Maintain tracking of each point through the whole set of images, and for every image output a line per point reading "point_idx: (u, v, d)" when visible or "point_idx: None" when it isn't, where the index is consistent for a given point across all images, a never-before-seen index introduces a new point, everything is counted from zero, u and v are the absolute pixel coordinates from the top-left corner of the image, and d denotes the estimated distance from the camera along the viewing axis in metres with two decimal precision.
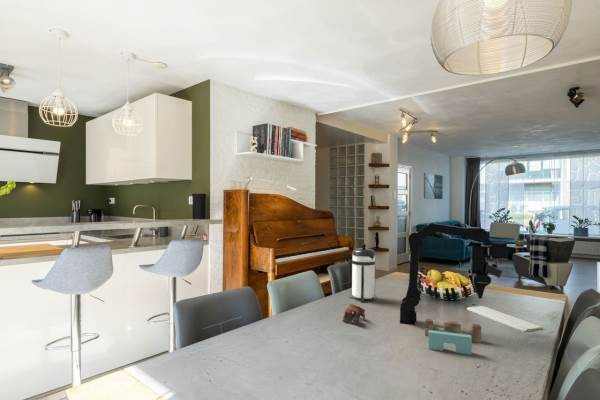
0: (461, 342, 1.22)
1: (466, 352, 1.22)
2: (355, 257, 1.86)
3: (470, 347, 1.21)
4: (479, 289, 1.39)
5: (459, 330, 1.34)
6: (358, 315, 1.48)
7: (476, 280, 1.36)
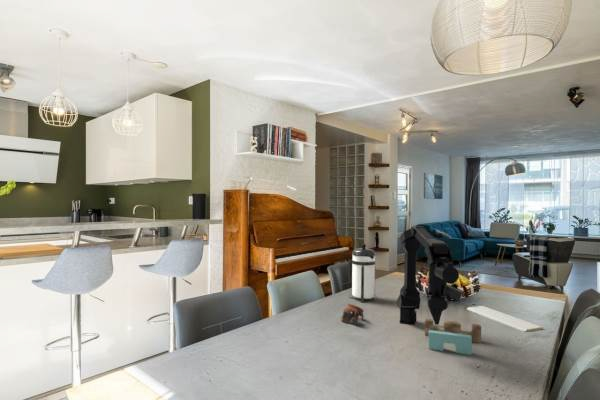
0: (461, 342, 1.22)
1: (466, 352, 1.22)
2: (355, 257, 1.86)
3: (470, 347, 1.21)
4: (435, 314, 1.21)
5: (459, 330, 1.34)
6: (357, 315, 1.48)
7: (431, 304, 1.18)
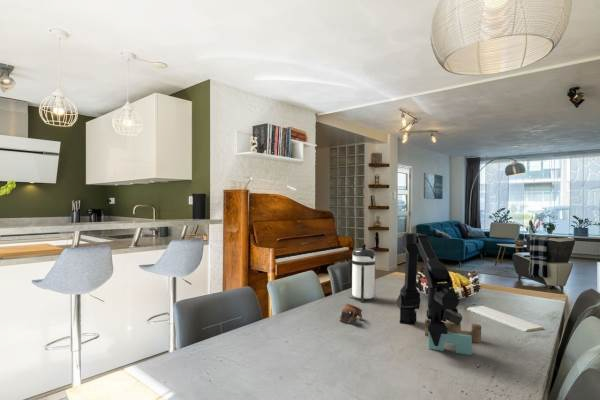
0: (461, 342, 1.22)
1: (466, 352, 1.21)
2: (355, 257, 1.86)
3: (470, 347, 1.21)
4: (434, 336, 1.24)
5: (459, 330, 1.34)
6: (355, 315, 1.48)
7: (430, 330, 1.18)
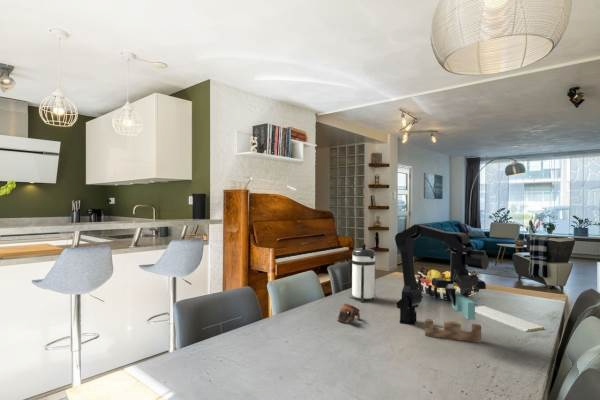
0: (463, 305, 1.27)
1: (465, 316, 1.25)
2: (355, 257, 1.86)
3: (467, 311, 1.24)
4: (450, 295, 1.36)
5: (459, 330, 1.34)
6: (353, 315, 1.48)
7: (432, 283, 1.38)
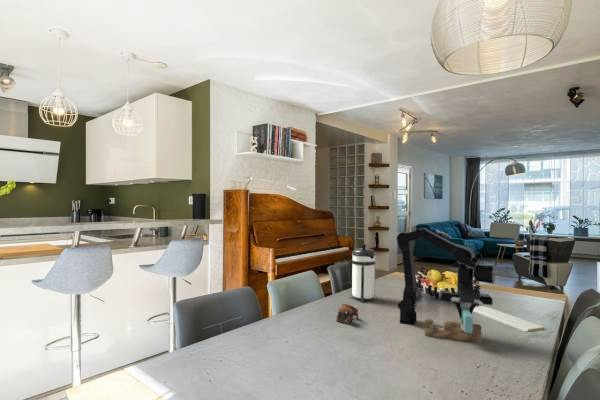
0: (463, 318, 1.31)
1: (464, 329, 1.30)
2: (355, 257, 1.86)
3: (464, 325, 1.29)
4: None
5: (459, 330, 1.34)
6: (352, 315, 1.48)
7: (439, 295, 1.44)
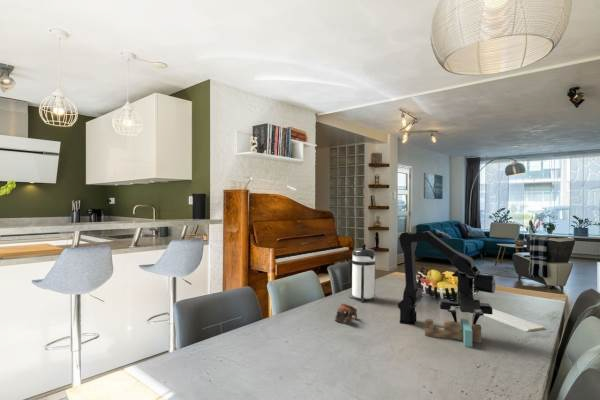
0: (463, 332, 1.31)
1: (464, 343, 1.30)
2: (355, 257, 1.86)
3: (464, 339, 1.28)
4: None
5: (459, 330, 1.34)
6: (350, 314, 1.48)
7: (439, 303, 1.44)
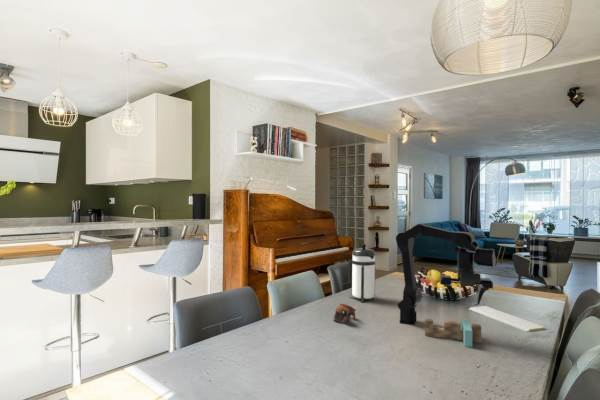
0: (463, 332, 1.31)
1: (464, 343, 1.30)
2: (355, 257, 1.86)
3: (464, 339, 1.28)
4: None
5: (459, 330, 1.34)
6: (349, 314, 1.48)
7: None
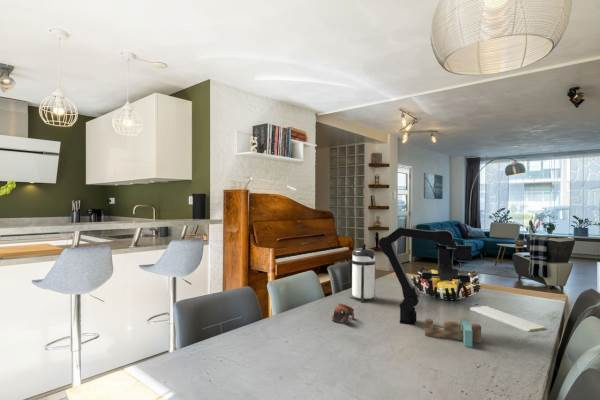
0: (463, 332, 1.31)
1: (464, 343, 1.30)
2: (355, 257, 1.86)
3: (464, 339, 1.28)
4: None
5: (459, 330, 1.34)
6: (347, 314, 1.48)
7: None
